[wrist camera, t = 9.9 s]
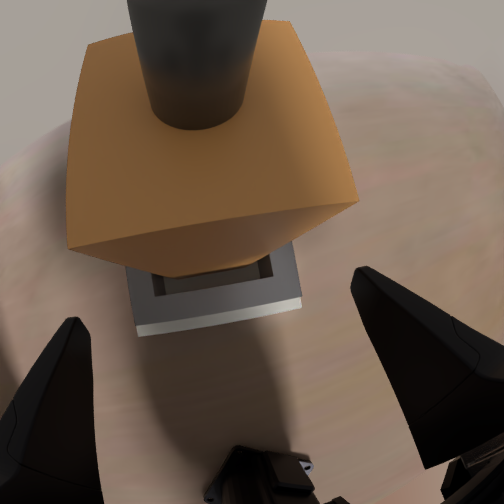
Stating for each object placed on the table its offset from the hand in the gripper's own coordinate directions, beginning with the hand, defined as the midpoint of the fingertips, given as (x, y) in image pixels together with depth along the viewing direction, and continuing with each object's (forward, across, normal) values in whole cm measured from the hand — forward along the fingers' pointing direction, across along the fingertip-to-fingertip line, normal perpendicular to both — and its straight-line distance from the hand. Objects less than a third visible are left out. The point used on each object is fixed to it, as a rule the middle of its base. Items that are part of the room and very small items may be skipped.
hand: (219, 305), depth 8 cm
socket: (+9, 0, +4) cm, 10 cm away
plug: (+8, 0, +3) cm, 9 cm away
